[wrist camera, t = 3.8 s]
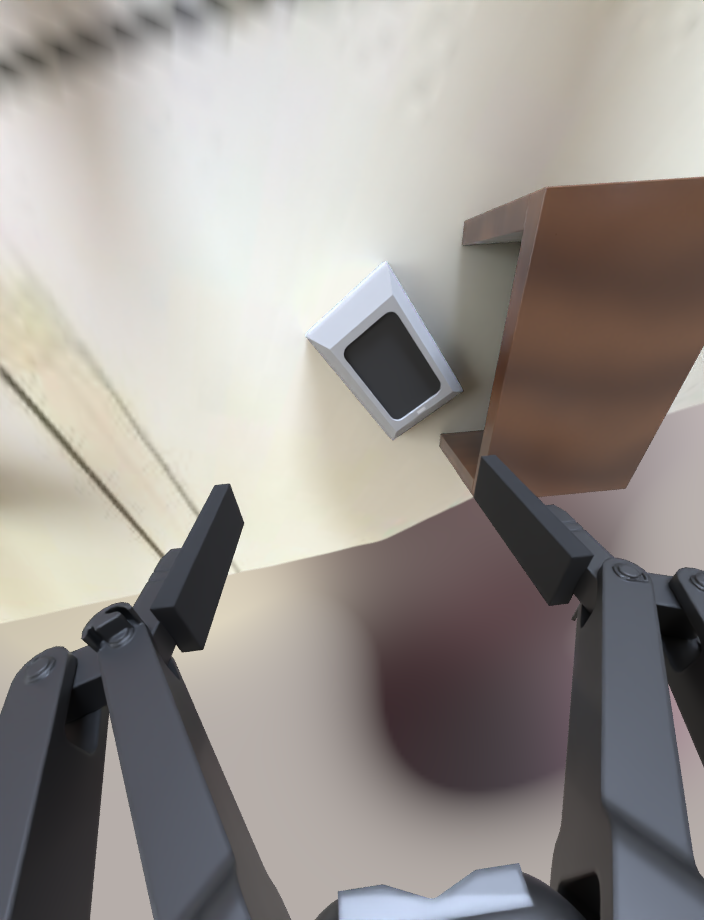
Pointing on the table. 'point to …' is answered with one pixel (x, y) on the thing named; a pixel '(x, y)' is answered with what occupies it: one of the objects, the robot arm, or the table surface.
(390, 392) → the grey box with recess
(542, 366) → the desk riser
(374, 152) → the table surface
